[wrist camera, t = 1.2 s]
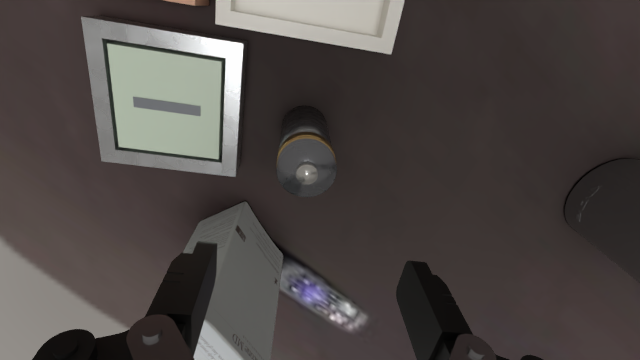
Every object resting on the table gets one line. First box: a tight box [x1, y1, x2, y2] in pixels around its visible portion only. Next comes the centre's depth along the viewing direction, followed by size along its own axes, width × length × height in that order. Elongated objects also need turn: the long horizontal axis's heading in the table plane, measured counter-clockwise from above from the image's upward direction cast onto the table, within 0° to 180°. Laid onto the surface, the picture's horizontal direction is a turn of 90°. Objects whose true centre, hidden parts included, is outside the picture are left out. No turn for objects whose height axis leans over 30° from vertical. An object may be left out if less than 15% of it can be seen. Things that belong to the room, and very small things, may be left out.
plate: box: [107, 42, 225, 159], centre depth 27 cm, size 8×8×2 cm
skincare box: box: [183, 202, 283, 360], centre depth 29 cm, size 8×6×15 cm
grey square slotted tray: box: [81, 16, 248, 177], centre depth 27 cm, size 11×11×2 cm
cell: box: [277, 106, 337, 197], centre depth 26 cm, size 4×4×10 cm
